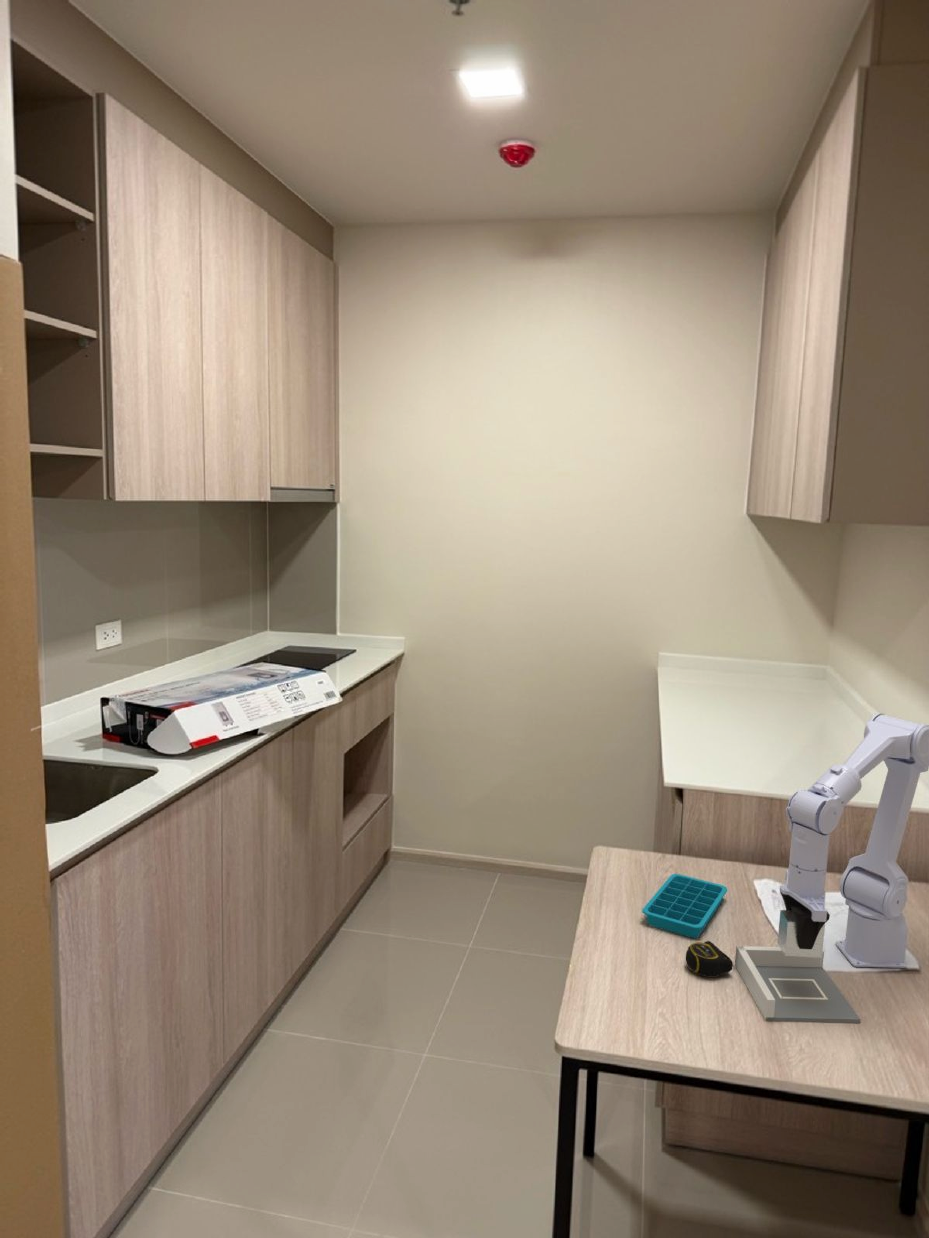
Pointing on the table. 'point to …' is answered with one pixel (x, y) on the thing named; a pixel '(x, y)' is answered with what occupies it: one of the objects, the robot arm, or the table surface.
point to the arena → (791, 986)
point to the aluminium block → (789, 937)
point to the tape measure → (707, 959)
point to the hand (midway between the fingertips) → (800, 940)
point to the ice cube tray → (684, 905)
